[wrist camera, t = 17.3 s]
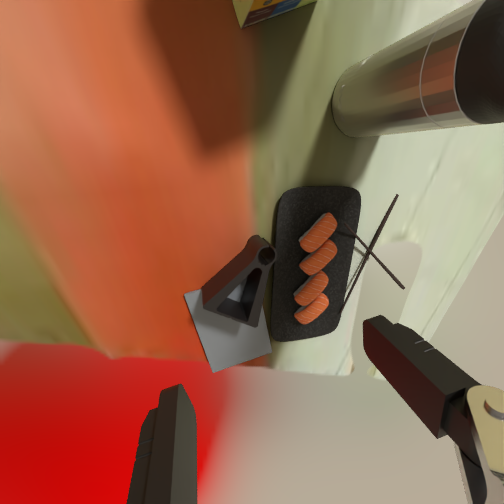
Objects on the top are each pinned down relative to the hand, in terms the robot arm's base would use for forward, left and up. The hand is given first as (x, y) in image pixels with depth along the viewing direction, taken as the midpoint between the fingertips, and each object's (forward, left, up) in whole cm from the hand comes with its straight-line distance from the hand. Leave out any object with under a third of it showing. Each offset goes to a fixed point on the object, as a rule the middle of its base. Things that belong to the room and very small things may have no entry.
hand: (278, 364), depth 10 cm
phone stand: (+2, +14, -24) cm, 28 cm away
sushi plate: (-22, +15, -29) cm, 39 cm away
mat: (+2, +20, -28) cm, 34 cm away
